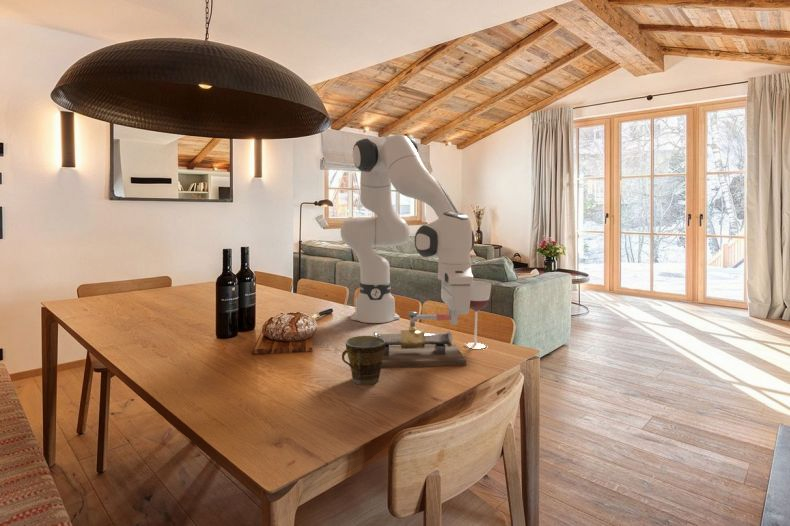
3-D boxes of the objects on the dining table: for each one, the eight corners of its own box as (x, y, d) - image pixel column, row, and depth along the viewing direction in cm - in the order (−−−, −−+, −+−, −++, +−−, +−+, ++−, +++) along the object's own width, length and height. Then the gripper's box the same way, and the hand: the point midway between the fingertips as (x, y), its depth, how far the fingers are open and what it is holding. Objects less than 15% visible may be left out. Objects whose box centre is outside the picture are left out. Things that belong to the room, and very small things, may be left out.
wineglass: (456, 343, 144) (458, 281, 142) (480, 341, 147) (482, 280, 145) (469, 351, 137) (471, 285, 135) (494, 348, 140) (496, 284, 138)
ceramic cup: (364, 370, 121) (364, 333, 120) (393, 379, 115) (394, 340, 113) (328, 384, 111) (327, 344, 110) (357, 395, 105) (357, 353, 103)
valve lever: (408, 327, 128) (408, 313, 128) (407, 324, 131) (407, 311, 130) (458, 326, 130) (458, 312, 129) (456, 323, 132) (456, 310, 132)
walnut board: (363, 351, 136) (363, 346, 136) (455, 349, 139) (455, 344, 138) (363, 367, 123) (363, 362, 122) (465, 365, 125) (466, 360, 125)
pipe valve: (373, 350, 132) (373, 325, 131) (448, 349, 134) (448, 324, 133) (374, 356, 127) (374, 330, 126) (452, 355, 129) (452, 329, 128)
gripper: (436, 267, 132) (435, 314, 134) (450, 279, 112) (449, 333, 114) (457, 267, 133) (456, 314, 135) (475, 278, 113) (473, 333, 114)
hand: (453, 323), depth 124 cm, fingers closed
